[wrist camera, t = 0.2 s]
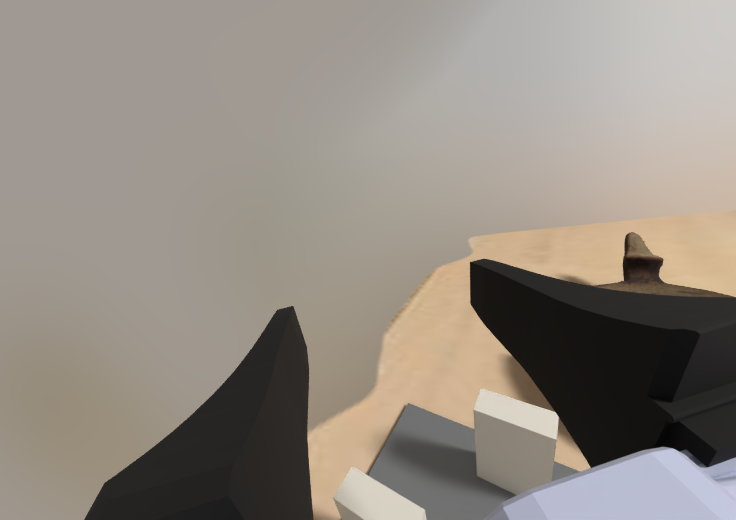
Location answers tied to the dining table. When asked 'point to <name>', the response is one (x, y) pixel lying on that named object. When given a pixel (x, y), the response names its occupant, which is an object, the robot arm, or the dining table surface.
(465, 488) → the mat
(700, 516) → the robot arm
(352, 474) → the domino
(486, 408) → the domino
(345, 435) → the dining table surface
